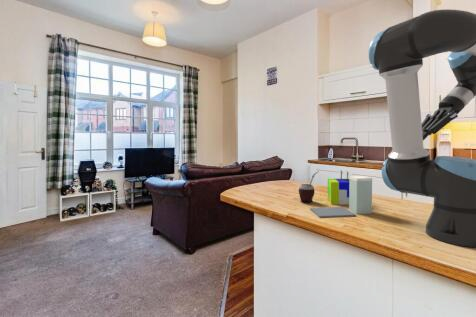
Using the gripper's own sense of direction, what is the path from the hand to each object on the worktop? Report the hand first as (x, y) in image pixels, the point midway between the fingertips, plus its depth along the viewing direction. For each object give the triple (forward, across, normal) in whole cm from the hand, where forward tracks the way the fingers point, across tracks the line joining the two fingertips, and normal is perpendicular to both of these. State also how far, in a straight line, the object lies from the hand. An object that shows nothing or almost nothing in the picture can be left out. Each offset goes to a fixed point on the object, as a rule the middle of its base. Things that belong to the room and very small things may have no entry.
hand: (412, 145), depth 100 cm
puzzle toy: (+34, +16, -3) cm, 38 cm away
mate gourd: (+44, +17, +8) cm, 48 cm away
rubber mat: (+41, 0, +5) cm, 41 cm away
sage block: (+33, 0, -3) cm, 33 cm away
